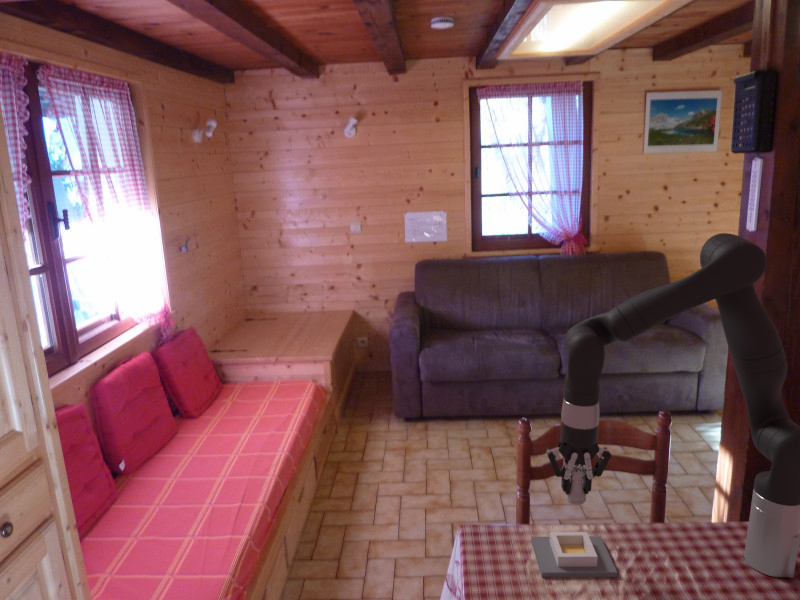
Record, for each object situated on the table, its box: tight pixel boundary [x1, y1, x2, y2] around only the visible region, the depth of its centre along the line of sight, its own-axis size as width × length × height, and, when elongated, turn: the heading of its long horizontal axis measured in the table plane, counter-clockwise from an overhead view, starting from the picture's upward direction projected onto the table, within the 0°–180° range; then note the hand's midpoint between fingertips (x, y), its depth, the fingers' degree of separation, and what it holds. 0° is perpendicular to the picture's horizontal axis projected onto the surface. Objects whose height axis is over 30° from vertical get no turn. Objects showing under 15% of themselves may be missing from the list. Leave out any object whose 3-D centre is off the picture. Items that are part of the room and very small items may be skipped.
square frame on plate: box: [530, 531, 618, 578], centre depth 132 cm, size 16×12×4 cm
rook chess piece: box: [564, 464, 587, 506], centre depth 128 cm, size 4×4×8 cm
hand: (576, 491), depth 129 cm, fingers closed on rook chess piece, 3 cm apart
